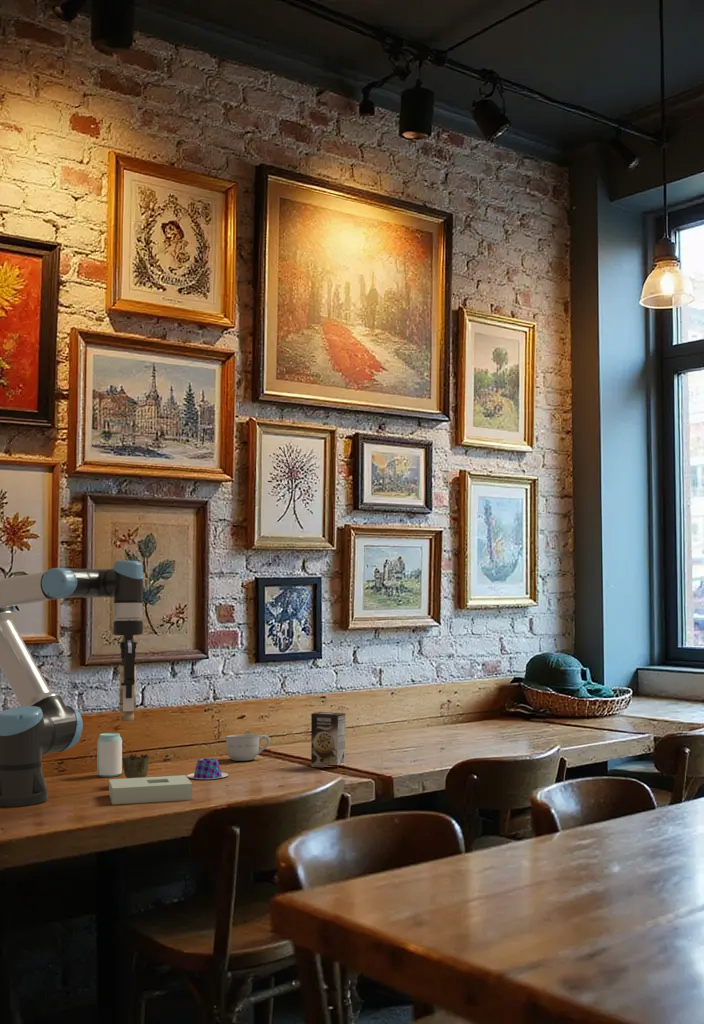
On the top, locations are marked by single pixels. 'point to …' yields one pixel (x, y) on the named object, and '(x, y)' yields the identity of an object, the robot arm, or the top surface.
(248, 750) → the teacup
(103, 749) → the can
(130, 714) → the peg
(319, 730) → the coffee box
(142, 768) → the cup
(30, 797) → the robot arm
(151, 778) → the board
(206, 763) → the pudding
